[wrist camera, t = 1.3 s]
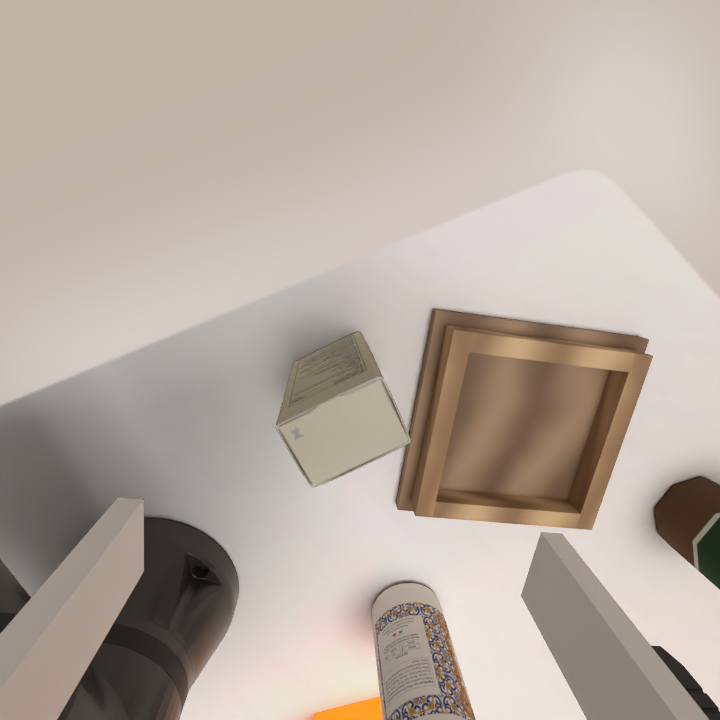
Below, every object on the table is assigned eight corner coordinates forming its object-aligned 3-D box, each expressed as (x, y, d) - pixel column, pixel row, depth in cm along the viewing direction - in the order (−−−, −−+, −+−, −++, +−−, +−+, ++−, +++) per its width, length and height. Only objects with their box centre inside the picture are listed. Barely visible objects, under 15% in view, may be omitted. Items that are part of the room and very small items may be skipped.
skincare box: (315, 406, 33) (306, 494, 21) (291, 361, 32) (267, 428, 20) (385, 374, 33) (415, 445, 21) (363, 327, 31) (382, 375, 20)
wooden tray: (395, 502, 36) (401, 524, 33) (433, 308, 31) (443, 314, 28) (578, 517, 38) (598, 540, 35) (640, 336, 33) (669, 345, 30)
